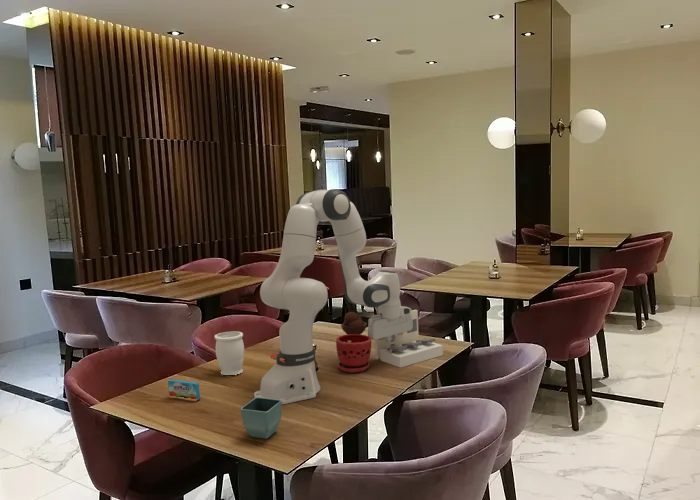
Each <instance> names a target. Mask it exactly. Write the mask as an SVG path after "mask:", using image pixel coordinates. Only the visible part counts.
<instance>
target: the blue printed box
mask: <svg viewBox="0 0 700 500" xmlns="http://www.w3.org/2000/svg"><path fill="white" fill-rule="evenodd" d="M199 384H200V383H199V382H196V381H187V380H181V379H180V380H179V379H173V378H172V379H169V380H168V381H167V385H168V386H167V387H168V396H169V395H170V396H176V397H184V398H191V399H199V398H200V399H201V393H200V385H199Z"/></svg>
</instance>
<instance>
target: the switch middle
mask: <svg viewBox="0 0 700 500" xmlns="http://www.w3.org/2000/svg"><path fill="white" fill-rule="evenodd" d="M404 345H407V346H408V347H415V346H418V345H421V343H418V342H407V343H403V344H402V346H404Z"/></svg>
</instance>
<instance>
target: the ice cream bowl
mask: <svg viewBox="0 0 700 500" xmlns="http://www.w3.org/2000/svg"><path fill="white" fill-rule="evenodd" d="M343 320H344V321H343V323H341V324H340V326H341V327H340V328H341V329H342V331H343V332H344V333H345V335H349V334H360V335H363V333H364V332H365V331H366V329H367V327H368V325H367V324H368V322H365V321H363V319H362V317H361V316H360V315H358V314H357V312H354V311H349V312H346V314H345V315H344V318H343ZM350 343H352V341H350ZM355 343H357V342H355Z"/></svg>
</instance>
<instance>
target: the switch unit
mask: <svg viewBox="0 0 700 500" xmlns="http://www.w3.org/2000/svg"><path fill="white" fill-rule="evenodd" d="M418 311H419V310H418V309H413V310H411V313H410V314H411V315H412V321H413V328H412V330H411V331H407V332H403V333H399V334H398V337H397V339H396V341H395V343H396V345H395V346H402V344H403V343H407V342H416V340H418V339H420V337H419V316H418ZM392 337H393V336H390V339H389V340H390V341H391V340H392ZM429 339H433V338H429ZM418 343H421V341H419V342H418ZM374 345H375V347H374V348H375V351H374V352H375V360H380V361H381V362H383V363H386V364H388V365H389V364H390V365H391V366H395V367H397V368H399V369H402V368H406V367H407V366H411V365H415V364H418V363H421V362H425V361H427V360H431V359H435V358H439V357H441V356H443V355H444V347H443V346H444V345H443V344H439V343H436V342H434V341H433V342H429V343H421V345H418V346H415V347H408V346H407V345H404V346H405V347H406V348H407V349H404V350H400V351H392V349H390V350H387V348H389V347H388V346H387V342H386V340H385V339H384V338H381V339H377V340H374Z"/></svg>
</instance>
